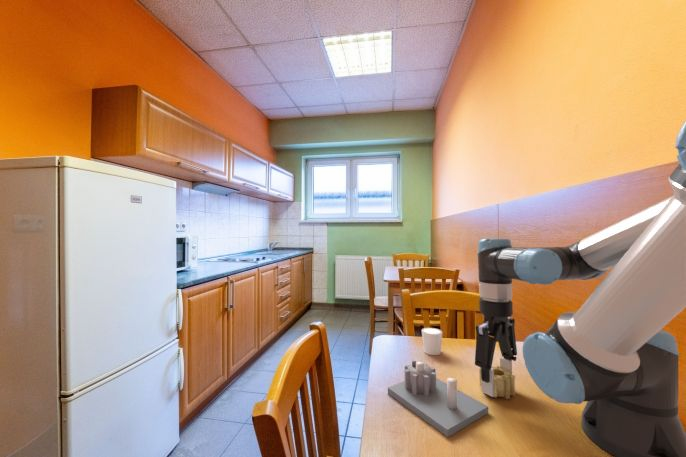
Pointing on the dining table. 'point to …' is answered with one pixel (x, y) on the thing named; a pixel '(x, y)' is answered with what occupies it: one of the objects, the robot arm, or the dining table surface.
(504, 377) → the brass gear
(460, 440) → the dining table surface
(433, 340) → the beige cup
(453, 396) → the gear board
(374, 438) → the dining table surface
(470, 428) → the dining table surface
